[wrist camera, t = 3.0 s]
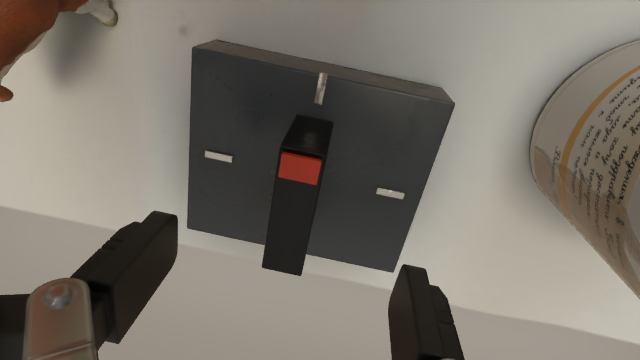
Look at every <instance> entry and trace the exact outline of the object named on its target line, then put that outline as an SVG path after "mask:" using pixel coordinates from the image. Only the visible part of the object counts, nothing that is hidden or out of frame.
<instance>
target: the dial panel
mask: <svg viewBox="0 0 640 360" xmlns="http://www.w3.org/2000/svg"><path fill="white" fill-rule="evenodd" d="M454 106H455V103H454V102H453V101H452V99H451V98H450V97H449V96H448V95H447V93H446V92H445V91H444V90H443V89H442V88H440V87H435V86H430V85H426V84H421V83H416V82H412V81H407V80H402V79H398V78H393V77H388V76H384V75H379V74H374V73H370V72H365V71H360V70H355V69H351V68H346V67H341V66H337V65H332V64H327V63H323V62H318V61H313V60H309V59H304V58H299V57H295V56H290V55H285V54H281V53H276V52H271V51H267V50H262V49H257V48H253V47H248V46H243V45H239V44H234V43H229V42H225V41H220V40H213V41H210V42H207V43H204V44H201V45H198V46H195V47H193V48H192V70H191V107H190V145H189V182H188V219H187V228H188V229H192V230H197V231H202V232H206V233H211V234H216V235H220V236H225V237H230V238H234V239H239V240H243V241H248V242H253V243H257V244H262V245H265V242H266V236H267V229H268V222H269V215H270V209H271V202H272V195H273V189H274V182H275V175H276V169H277V162H278V155H279V148H280V145H281V143H282V141H283V139H284V137H285V135H286V134H287V132H288V130H289V128H290V126H291V124H292V122H293V120H294V118H295V117H296V115H302V116H307V117H311V118H316V119H321V120H325V121H330V122H333V123H334V125H333V130H332V135H331V140H330V145H329V149H328V154H327V159H326V163H325V168H324V173H323V177H322V182H321V187H320V191H319V196H318V200H317V205H316V210H315V214H314V219H313V223H312V228H311V233H310V237H309V242H308V247H307V251H306V254H308V255H313V256H318V257H322V258H327V259H332V260H336V261H341V262H346V263H350V264H355V265H359V266H364V267H369V268H373V269H378V270H383V271H387V272H394V270H395V267H396V264H397V262H398V259H399V256H400V254H401V251H402V248H403V245H404V243H405V240H406V237H407V234H408V232H409V229H410V226H411V223H412V221H413V218H414V215H415V213H416V210H417V207H418V204H419V202H420V199H421V196H422V193H423V191H424V188H425V185H426V182H427V180H428V177H429V174H430V172H431V169H432V166H433V163H434V161H435V158H436V155H437V152H438V150H439V147H440V144H441V142H442V139H443V136H444V133H445V131H446V128H447V125H448V122H449V120H450V117H451V114H452V111H453V109H454Z"/></svg>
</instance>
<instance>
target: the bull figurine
mask: <svg viewBox="0 0 640 360" xmlns="http://www.w3.org/2000/svg"><path fill="white" fill-rule="evenodd" d="M65 11H73V12H75V13H79V14H83V13H87V12H88V13H90V14H91V15H93V16H95V17H97V18H98V19H99V21H100V22H102V23H103V24H104V25H106V26H110V27H111V26H114V25H115V24H116V22H117V14H116V12H115V11H114V10H113V9H111V8H109V3H108V2H107V1H105V0H0V102H5V101H9V100H11V99H12V97H13V93H12V92H11V91H10V90H9V89H7V88H6V87H3V86H1V80H2V78H3V77H4V76H5V75H6V74H7V73H8V71H9V70H10V68H11V67H12V66H13V65H14V63H15V62H16V61H17V60H18V59H19V58H20V57H21V56H22V55H23V54H25V53H27V52H29V51H31V50H32V49H33V48H35V47H36V46H37V45H38V43H39V42H40V41H41V40H42V38H43V36H44V35H45V33H46V32H47V30H49V29H51V28H52V26H53V25H54V23H55V21H56V18H57V16H58V13H59V12H65Z"/></svg>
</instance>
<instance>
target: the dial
mask: <svg viewBox="0 0 640 360" xmlns="http://www.w3.org/2000/svg"><path fill="white" fill-rule="evenodd" d="M333 125H334V123H333V122H330V121H325V120H321V119H316V118H311V117H307V116H302V115H296V117H295V118H294V120H293V122H292V124H291V126H290V128H289V130H288V132H287V134H286V135H285V137H284V139H283V141H282V143H281V145H280V148H279V155H278V162H277V169H276V175H275V182H274V189H273V195H272V202H271V209H270V215H269V222H268V229H267V236H266V242H265V249H264V256H263V262H262V268H265V269H270V270H275V271H279V272H284V273H289V274H294V275H298V276H301V274H302V270H303V265H304V260H305V256H306V251H307V247H308V242H309V237H310V233H311V228H312V223H313V219H314V214H315V210H316V205H317V200H318V196H319V191H320V187H321V182H322V177H323V173H324V168H325V163H326V159H327V154H328V149H329V145H330V140H331V135H332V130H333Z"/></svg>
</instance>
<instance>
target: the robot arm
mask: <svg viewBox="0 0 640 360" xmlns="http://www.w3.org/2000/svg"><path fill="white" fill-rule="evenodd" d="M177 246H178V219H177V216H176V215H173V214H168V213H164V212H159V211H153V212H151V213H150V214H149V215H148V216H147V217H146V218H145V220H144V221H143V222H142V223H140V222H133V223H131V224H129V225H127V226H125V227H123V228H121V229H119V230H118V231H117V232H116V233H115V234H114V235H113V236H112V237H111V238H110V240H108V241H107V242H106V243H105V244H104V245H103V246H102V248H101V249H99V250H98V251H97V252H95V253H94V254H93V256H92V257H90V258H89V259H88V260H87V261H86V262H85V263H84V264H83V265H82V266H81V267H80V268H79V269H78V270H77V271H76V272H75V273H74V274H73V275H72V276H71V277H70V278H61V279H57V280H53V281H50V282H47V283H45V284H43V285H41V286H39V287H38V288H37V289H35V290H34V291H33V292H32V293H31V294H16V295H0V360H99V359H98V350H99V348H100V347H101V346H102V344H103V343H104V342H105V341H107V342H112V343H116V344H119V343H120V341H121V340H122V338H123V337H124V335H125V334H126V333H127V331H128V329H129V328H130V327H131V325H132V324H133V323H134V321H135V319H136V318H137V317H138V315H139V314H140V312H141V311H142V310H143V308H144V307H145V305H146V304H147V302H148V301H149V300H150V298H151V297H152V295H153V294H154V292H155V291H156V290H157V288H158V287H159V285H160V284H161V282H162V281H163V280H164V278H165V277H166V275H167V274H168V272H169V271H170V269H171V268H172V266H173V264H174V262H175V259H176V256H177ZM388 318H389V330H390V342H391V354H392V360H465V359H464V356H463V352H462V349H461V345H460V341H459V338H458V335H457V331H456V327H455V325H454V320H453V317H452V314H451V310H450V306H449V303H448V299H447V298H446V296H445V295H444V294H443V292H442V291H441V290H440V288H439V287H438V286H433V285H430V284H429V280H428V276H427V272H426V269H424V268H420V267H415V266H410V265H406V264H403V265H402V267H401V269H400V272H399V275H398V277H397V280H396V283H395V286H394V288H393V291H392V294H391V297H390V301H389V308H388Z"/></svg>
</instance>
